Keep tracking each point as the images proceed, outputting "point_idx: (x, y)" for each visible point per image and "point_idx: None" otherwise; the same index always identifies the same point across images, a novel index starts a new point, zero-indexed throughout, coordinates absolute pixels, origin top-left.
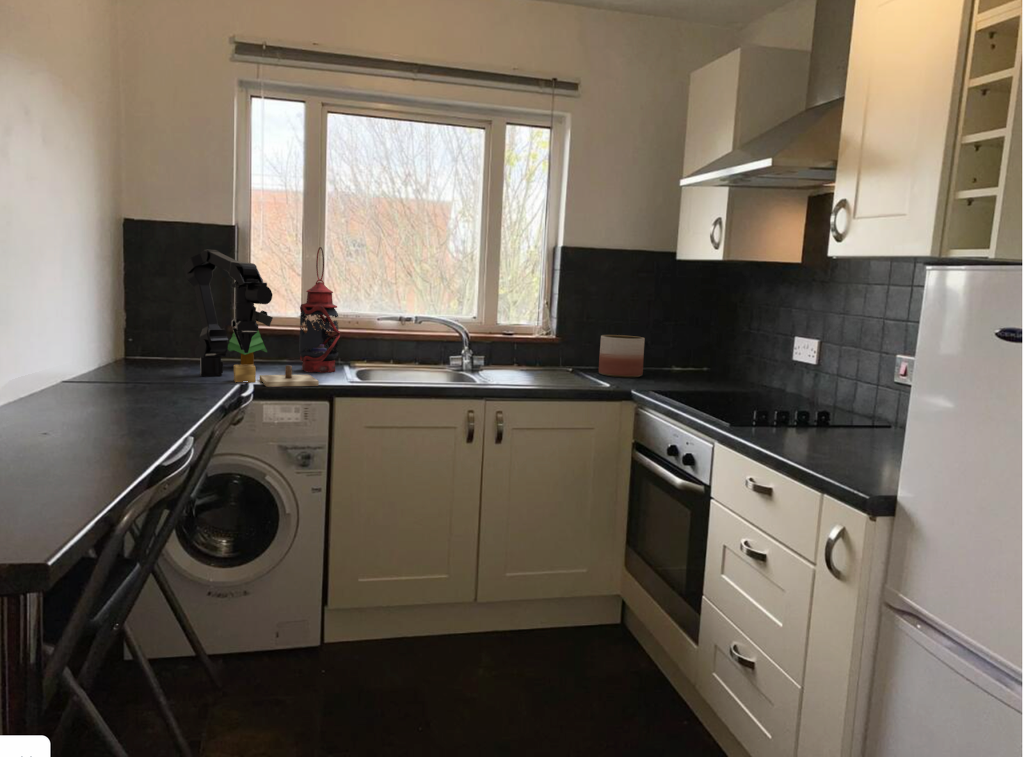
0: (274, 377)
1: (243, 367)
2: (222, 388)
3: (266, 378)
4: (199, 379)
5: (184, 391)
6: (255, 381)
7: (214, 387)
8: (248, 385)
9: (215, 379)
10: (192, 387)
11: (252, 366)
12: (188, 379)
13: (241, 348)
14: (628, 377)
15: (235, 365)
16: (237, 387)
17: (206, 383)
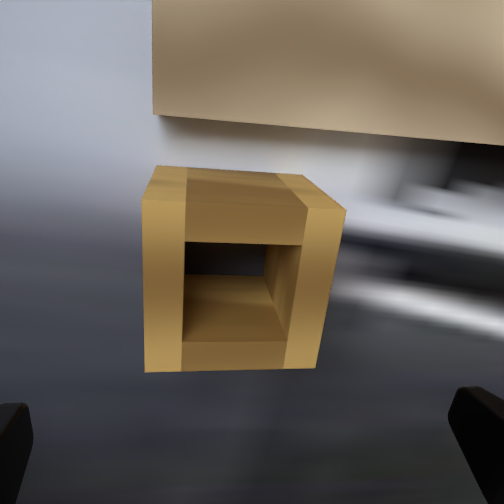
0: (345, 6)
1: (324, 310)
2: (467, 373)
3: (385, 104)
4: (103, 457)
5: (476, 490)
6: (303, 176)
7: (421, 401)
8: (422, 243)
9: (109, 389)
10: (385, 473)
11: (307, 233)
12: (100, 497)
13: (25, 458)
14: None
15: (201, 362)
16: (469, 308)
17: (274, 429)
